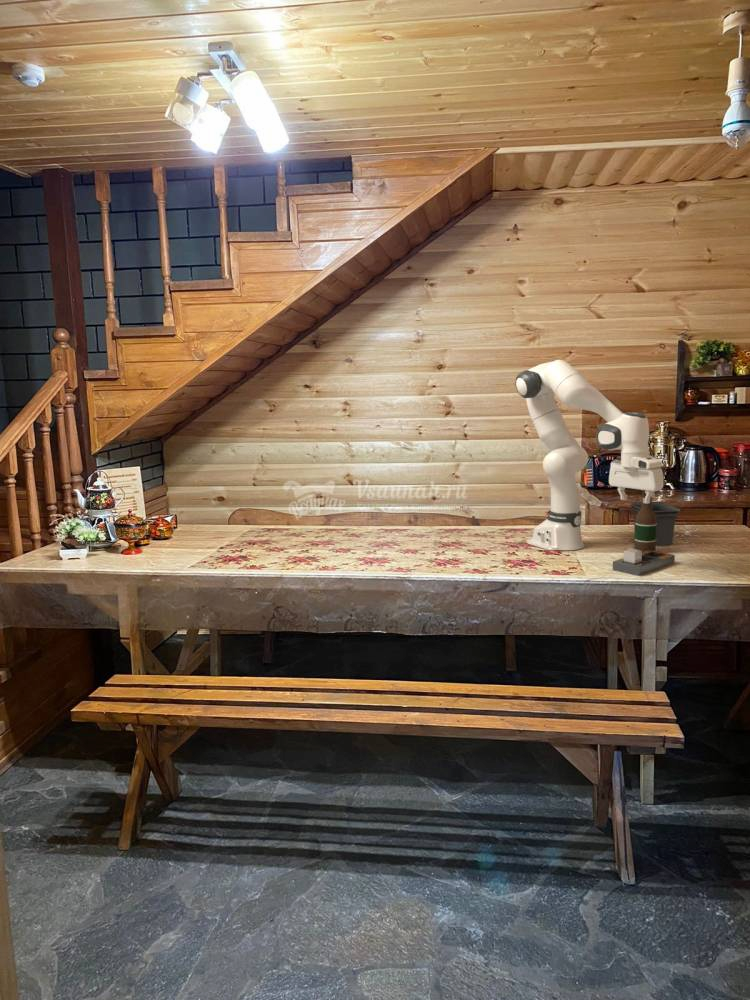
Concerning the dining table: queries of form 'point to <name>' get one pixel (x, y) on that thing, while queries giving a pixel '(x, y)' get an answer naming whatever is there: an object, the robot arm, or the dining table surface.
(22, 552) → the dining table surface
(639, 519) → the beer bottle
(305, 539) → the dining table surface
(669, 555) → the grey tray
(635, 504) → the storage bin
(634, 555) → the block
